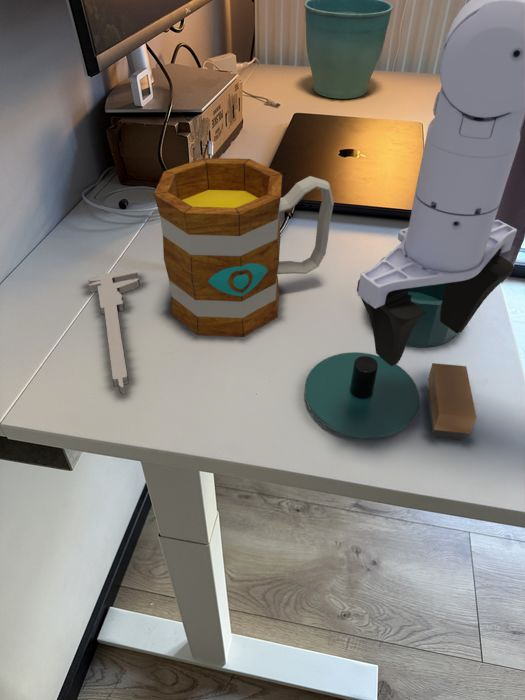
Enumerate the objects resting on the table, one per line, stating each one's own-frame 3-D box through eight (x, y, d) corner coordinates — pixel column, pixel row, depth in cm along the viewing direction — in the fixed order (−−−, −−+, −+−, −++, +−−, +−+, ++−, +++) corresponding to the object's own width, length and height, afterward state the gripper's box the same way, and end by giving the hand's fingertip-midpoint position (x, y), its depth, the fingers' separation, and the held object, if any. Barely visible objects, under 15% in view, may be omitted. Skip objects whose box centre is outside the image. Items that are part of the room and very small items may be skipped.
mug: (184, 350, 59) (167, 226, 48) (159, 281, 68) (141, 166, 58) (348, 312, 63) (364, 193, 53) (304, 253, 73) (310, 142, 63)
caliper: (141, 277, 69) (91, 280, 68) (140, 270, 68) (89, 273, 68) (127, 393, 54) (63, 398, 53) (125, 386, 53) (60, 391, 53)
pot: (453, 294, 66) (465, 253, 62) (464, 351, 58) (479, 308, 54) (368, 288, 67) (375, 247, 63) (369, 342, 59) (376, 299, 55)
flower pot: (380, 81, 128) (392, -4, 116) (381, 107, 115) (394, 14, 103) (304, 77, 130) (308, -6, 119) (296, 102, 117) (300, 11, 105)
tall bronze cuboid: (457, 391, 54) (466, 366, 52) (466, 442, 49) (476, 417, 47) (425, 387, 54) (432, 362, 52) (430, 438, 50) (438, 413, 47)
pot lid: (413, 364, 57) (421, 330, 54) (421, 448, 49) (432, 414, 46) (308, 355, 58) (311, 321, 55) (299, 435, 50) (302, 401, 47)
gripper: (483, 153, 43) (445, 291, 52) (339, 199, 37) (324, 345, 47) (561, 187, 39) (504, 331, 48) (411, 245, 33) (379, 396, 42)
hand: (419, 341), depth 47 cm, fingers open, 7 cm apart
